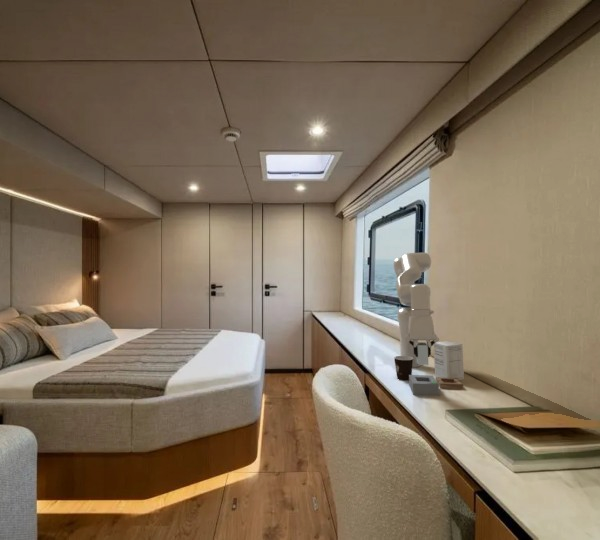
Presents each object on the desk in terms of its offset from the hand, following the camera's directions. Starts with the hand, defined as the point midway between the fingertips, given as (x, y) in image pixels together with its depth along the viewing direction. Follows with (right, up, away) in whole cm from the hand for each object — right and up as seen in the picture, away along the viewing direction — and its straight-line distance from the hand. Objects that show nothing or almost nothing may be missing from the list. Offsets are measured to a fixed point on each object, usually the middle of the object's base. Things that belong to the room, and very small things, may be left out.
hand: (422, 355), depth 136 cm
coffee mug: (-2, -16, +19) cm, 24 cm away
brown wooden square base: (+14, -15, +5) cm, 21 cm away
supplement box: (+19, -15, +16) cm, 29 cm away
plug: (0, -3, 0) cm, 3 cm away
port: (0, -15, 0) cm, 15 cm away
